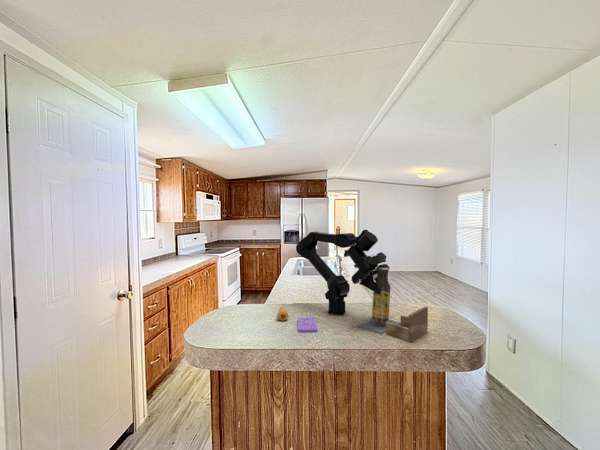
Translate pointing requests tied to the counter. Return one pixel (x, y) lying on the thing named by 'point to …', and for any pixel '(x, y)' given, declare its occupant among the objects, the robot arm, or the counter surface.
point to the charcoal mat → (377, 326)
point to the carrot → (282, 314)
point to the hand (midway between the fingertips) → (384, 291)
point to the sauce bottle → (381, 297)
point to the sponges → (307, 325)
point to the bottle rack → (410, 326)
